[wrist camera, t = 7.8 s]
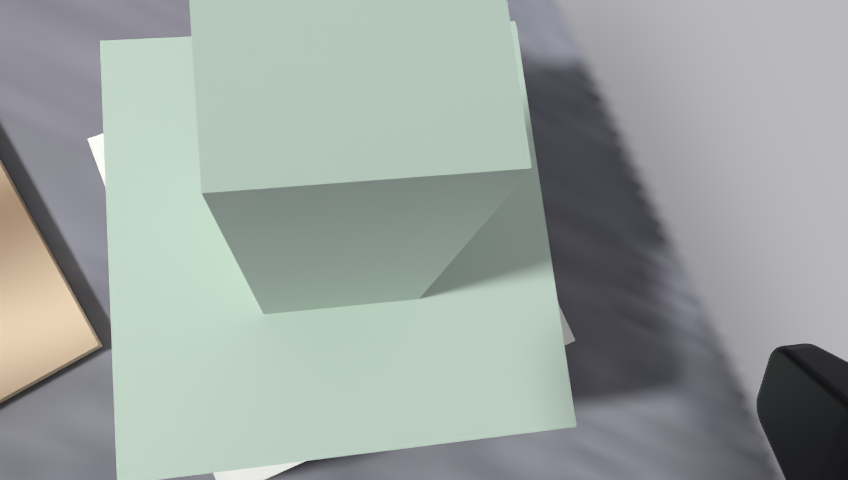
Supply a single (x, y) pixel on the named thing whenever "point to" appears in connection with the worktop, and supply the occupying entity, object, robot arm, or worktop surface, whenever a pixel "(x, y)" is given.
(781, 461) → the robot arm
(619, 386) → the worktop surface
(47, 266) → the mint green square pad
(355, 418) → the mint green stamp
